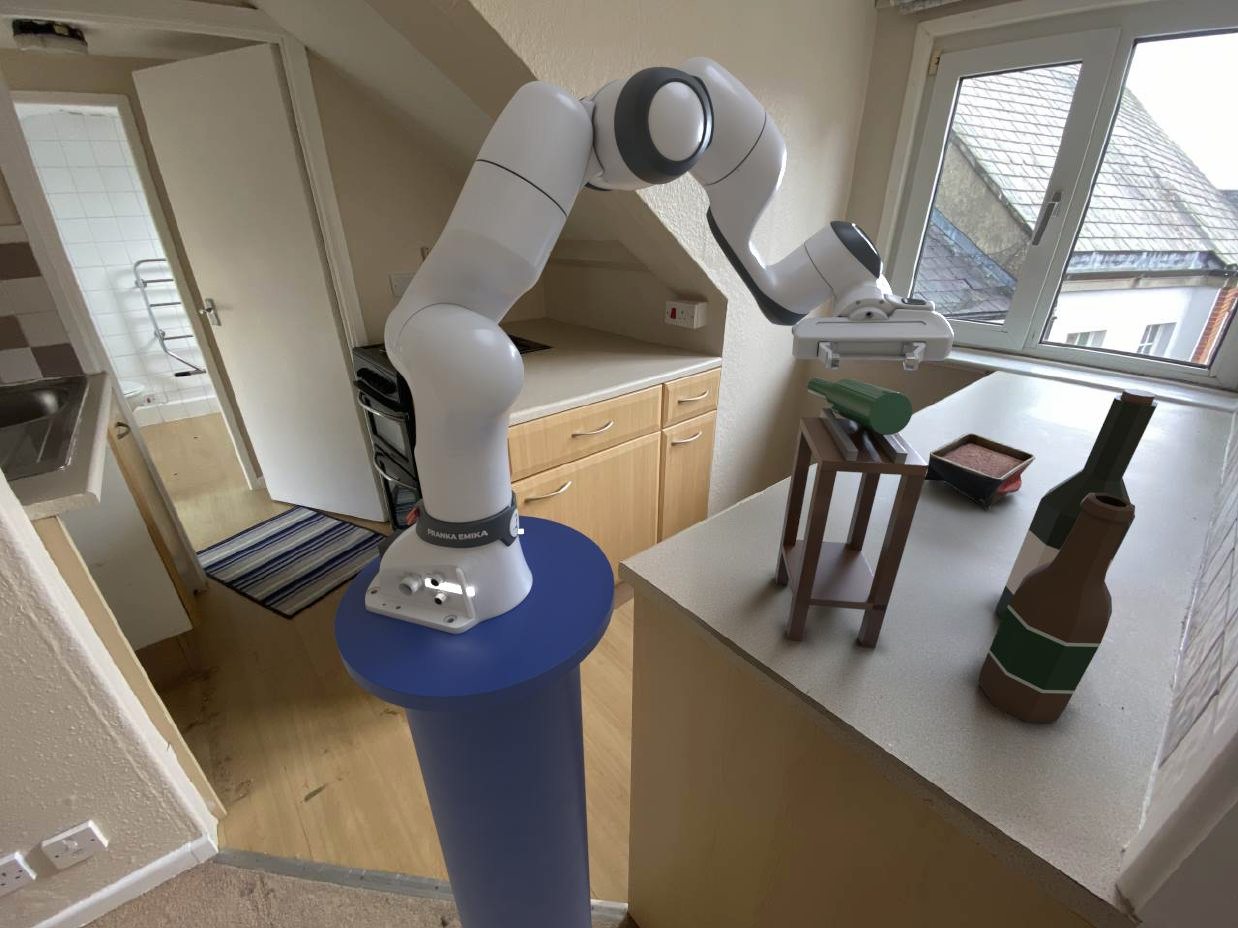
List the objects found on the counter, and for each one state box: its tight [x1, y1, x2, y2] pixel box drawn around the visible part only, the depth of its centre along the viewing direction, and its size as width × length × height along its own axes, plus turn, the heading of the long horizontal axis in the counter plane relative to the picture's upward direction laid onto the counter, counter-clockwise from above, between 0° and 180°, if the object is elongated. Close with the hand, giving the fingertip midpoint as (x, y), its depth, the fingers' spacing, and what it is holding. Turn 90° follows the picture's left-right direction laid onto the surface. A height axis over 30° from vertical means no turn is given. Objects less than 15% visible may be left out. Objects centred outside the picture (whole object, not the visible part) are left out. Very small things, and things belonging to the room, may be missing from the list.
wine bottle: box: [994, 388, 1159, 620], centre depth 59 cm, size 8×8×30 cm
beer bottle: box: [977, 493, 1136, 724], centre depth 51 cm, size 8×8×24 cm
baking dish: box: [924, 432, 1036, 511], centre depth 95 cm, size 14×18×10 cm
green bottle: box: [806, 376, 913, 435], centre depth 62 cm, size 18×4×4 cm, turn 3°
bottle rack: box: [774, 407, 928, 649], centre depth 62 cm, size 10×12×25 cm
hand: (871, 364), depth 69 cm, fingers open, 8 cm apart
